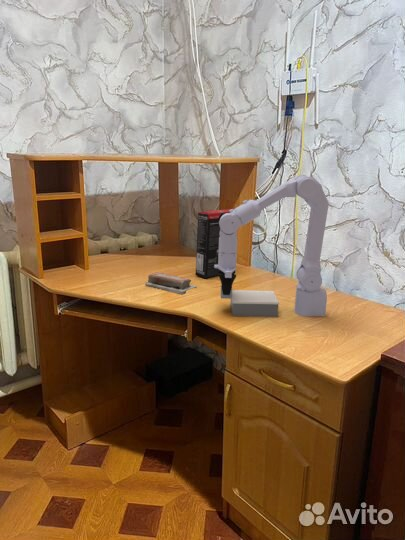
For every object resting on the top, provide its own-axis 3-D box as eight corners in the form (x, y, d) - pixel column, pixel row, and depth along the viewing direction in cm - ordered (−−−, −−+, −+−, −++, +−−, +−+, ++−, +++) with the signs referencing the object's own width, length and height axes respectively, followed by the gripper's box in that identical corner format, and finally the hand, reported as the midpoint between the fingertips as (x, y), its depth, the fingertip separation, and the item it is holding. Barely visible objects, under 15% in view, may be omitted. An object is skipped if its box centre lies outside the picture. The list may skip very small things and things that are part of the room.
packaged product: (143, 274, 161) (160, 269, 169) (144, 286, 162) (160, 281, 170) (182, 283, 151) (197, 277, 160) (182, 295, 153) (197, 289, 161)
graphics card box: (222, 269, 188) (224, 208, 180) (234, 272, 183) (237, 209, 176) (195, 276, 176) (196, 211, 169) (206, 279, 171) (208, 213, 164)
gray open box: (271, 306, 142) (272, 292, 141) (277, 319, 132) (278, 304, 131) (230, 305, 142) (230, 291, 141) (232, 318, 132) (233, 303, 130)
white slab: (272, 294, 142) (273, 282, 140) (278, 306, 131) (279, 293, 129) (219, 293, 141) (220, 281, 140) (221, 305, 130) (221, 292, 129)
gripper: (214, 246, 139) (213, 286, 142) (215, 257, 125) (214, 300, 128) (235, 247, 139) (233, 286, 142) (239, 257, 125) (237, 300, 128)
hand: (226, 293), depth 135 cm, fingers closed on white slab, 2 cm apart
